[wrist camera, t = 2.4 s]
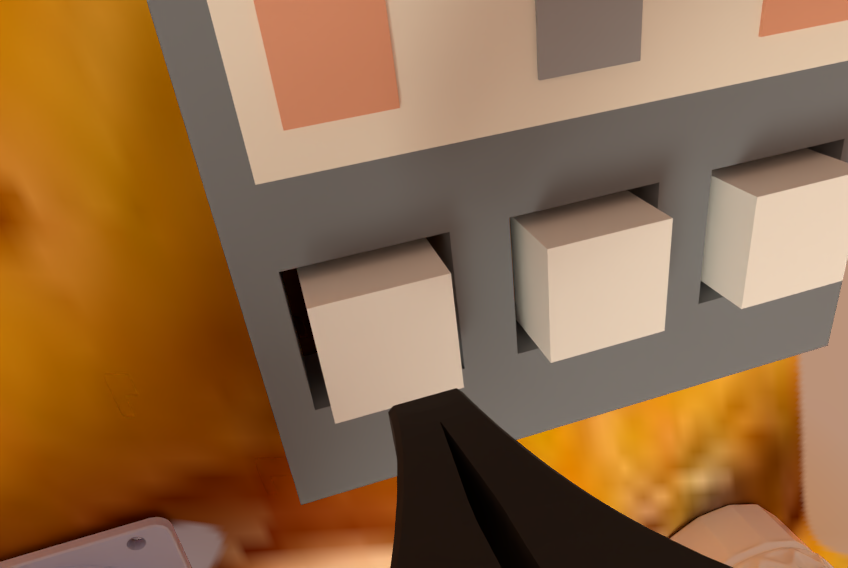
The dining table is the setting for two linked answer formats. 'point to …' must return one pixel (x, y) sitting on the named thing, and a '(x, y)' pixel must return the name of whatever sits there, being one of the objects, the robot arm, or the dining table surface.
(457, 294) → the button board
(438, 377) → the button
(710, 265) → the button
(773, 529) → the white cup
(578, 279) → the middle button
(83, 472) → the dining table surface
